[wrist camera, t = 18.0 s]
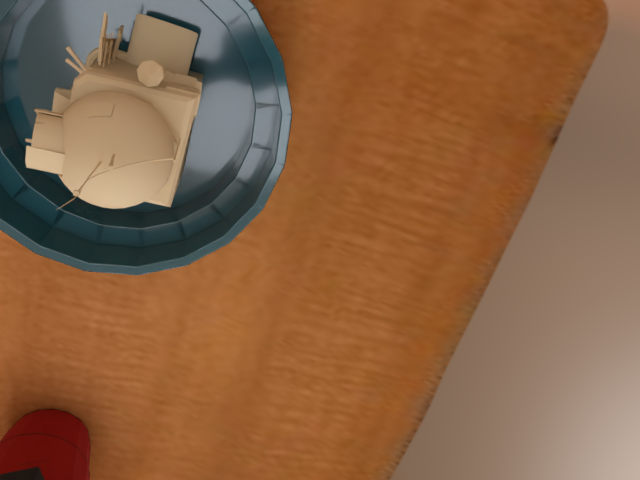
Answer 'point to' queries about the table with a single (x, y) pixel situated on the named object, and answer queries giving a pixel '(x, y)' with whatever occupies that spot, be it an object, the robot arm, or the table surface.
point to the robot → (123, 118)
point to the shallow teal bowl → (204, 147)
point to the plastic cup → (47, 446)
